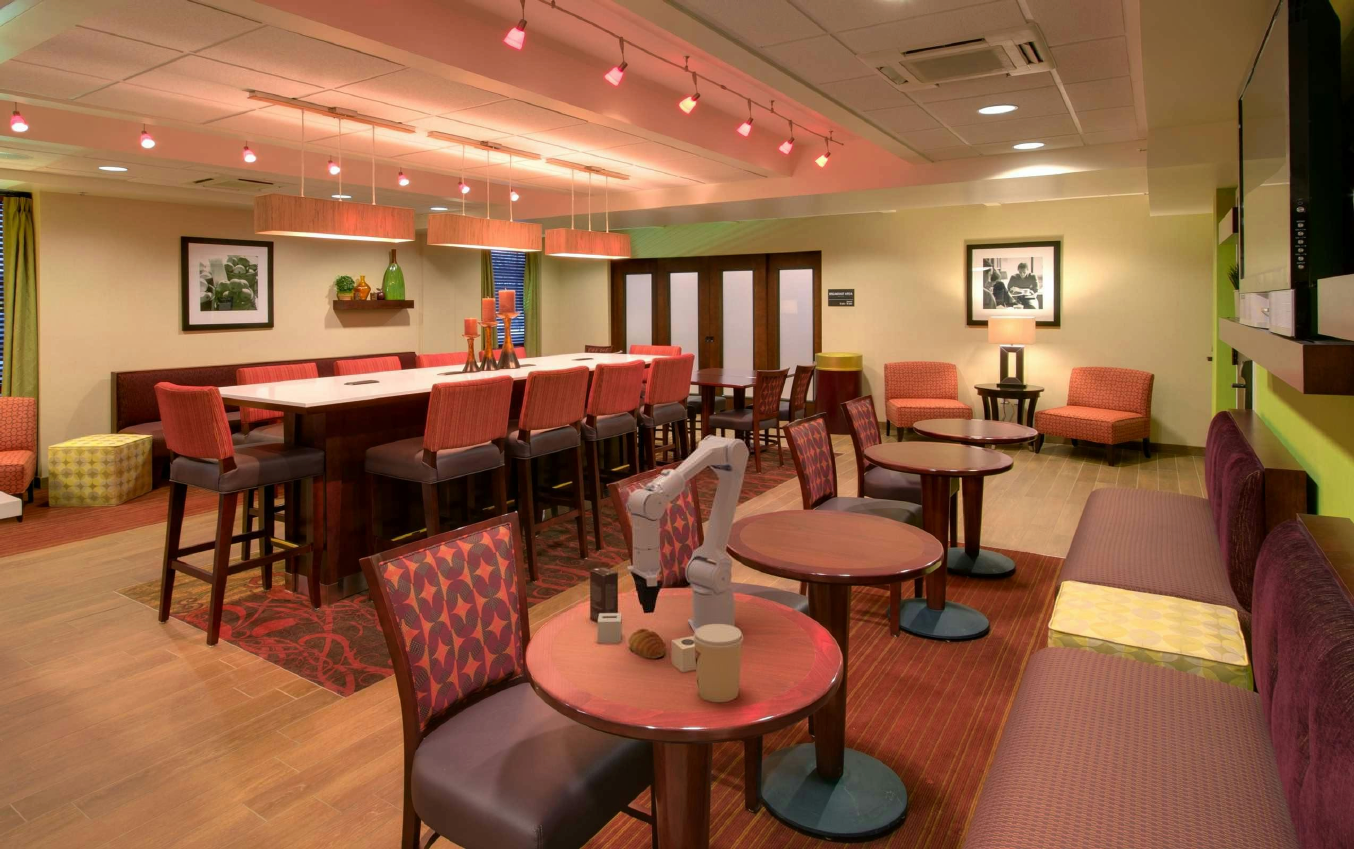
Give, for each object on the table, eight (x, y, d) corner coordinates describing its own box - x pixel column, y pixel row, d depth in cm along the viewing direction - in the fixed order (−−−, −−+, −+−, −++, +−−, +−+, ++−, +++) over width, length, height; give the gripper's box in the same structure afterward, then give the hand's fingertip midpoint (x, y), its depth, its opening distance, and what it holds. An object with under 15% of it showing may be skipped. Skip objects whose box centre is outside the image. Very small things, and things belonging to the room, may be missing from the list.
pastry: (674, 656, 169) (674, 639, 168) (646, 663, 165) (646, 646, 165) (651, 641, 177) (651, 624, 176) (624, 648, 173) (624, 631, 173)
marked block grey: (621, 634, 180) (621, 612, 180) (620, 643, 175) (620, 620, 175) (599, 634, 180) (599, 612, 179) (597, 643, 175) (597, 621, 174)
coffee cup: (703, 678, 158) (703, 620, 156) (748, 686, 154) (749, 627, 153) (686, 699, 149) (686, 637, 148) (733, 708, 146) (734, 645, 144)
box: (619, 621, 187) (618, 572, 186) (603, 626, 185) (602, 576, 183) (604, 614, 192) (604, 565, 190) (589, 618, 189) (588, 569, 188)
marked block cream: (692, 658, 167) (692, 635, 167) (704, 667, 163) (704, 643, 162) (671, 663, 165) (671, 639, 164) (682, 672, 161) (682, 648, 160)
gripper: (622, 538, 174) (623, 597, 176) (632, 557, 160) (633, 622, 162) (654, 536, 176) (654, 595, 178) (667, 555, 162) (667, 619, 164)
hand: (646, 608), depth 170 cm, fingers open, 4 cm apart
